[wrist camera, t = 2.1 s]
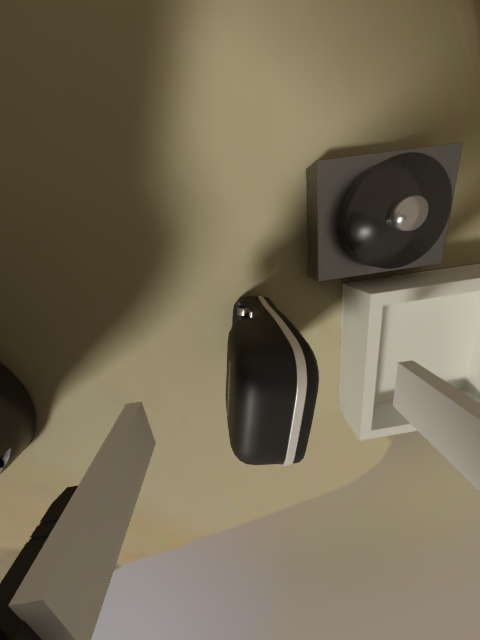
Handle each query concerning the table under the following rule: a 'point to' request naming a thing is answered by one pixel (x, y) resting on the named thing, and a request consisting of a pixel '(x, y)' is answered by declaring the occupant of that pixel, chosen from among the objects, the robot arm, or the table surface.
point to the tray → (406, 341)
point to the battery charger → (268, 385)
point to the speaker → (379, 211)
